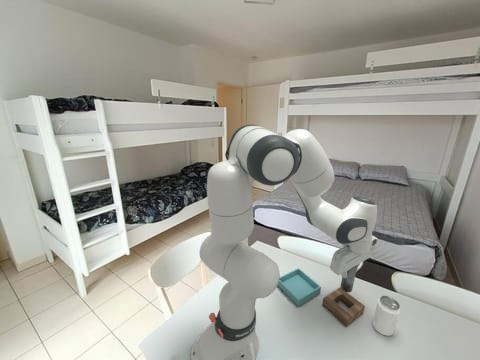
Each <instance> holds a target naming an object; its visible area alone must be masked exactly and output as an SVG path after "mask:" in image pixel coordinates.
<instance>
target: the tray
mask: <svg viewBox="0 0 480 360" xmlns="http://www.w3.org/2000/svg"><path fill="white" fill-rule="evenodd" d="M276 288H278V289H279V290H280V291H281V293H283V294H284V295H285V297H287V298H288V299H289V300H290V302H291V303H292V304H293V305H294V306H295V307H296V308H297V309H298V308H300V307H302V306H304V305H305V304H307V303H309V302H310V301H311V300H313V299H315V298H316V297H318V296H320V295H321V291H322V286H321V285H319V283H317V281H315V280H314V279H313V278H311V277H310V276H309V275H308V274H306V273H305V272H304V271H303V270H302V269H300V267H298V268H295V269H293V270H291V271H290V272H288V273H286V274H284V275H282V276H279V283H278V285H277V287H276Z"/></svg>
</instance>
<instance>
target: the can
mask: <svg viewBox="0 0 480 360" xmlns="http://www.w3.org/2000/svg"><path fill="white" fill-rule="evenodd" d="M400 313H401V309H400V303H399V302H398V301H397V300H396V299H395V298H394V297H391V296H390V295H389V296H388V295H382V296H381V297H380V298H379V299H378V300H377V302H376V306H375V310H374V314H373V319H372V321H371V323H372V326H373V328H374V330H375V331H376V332H378V333H379V334H381V335H383V336H386V337H387V336H388V337H389V336H392V335H393V334H394V331H395V329H396V326H397V323H398V319H399V317H400Z"/></svg>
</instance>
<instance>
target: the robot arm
mask: <svg viewBox="0 0 480 360" xmlns="http://www.w3.org/2000/svg"><path fill="white" fill-rule="evenodd" d="M224 155H225V159H226V160H223V161H220V162H217V163H216V164H215V163H214V164H213V166H211V167H210V169H209V170H208V172H207V178H206V179H207V181H206V184H207V185H206V198H207V208H208V212H209V219H210V227H211V228H210V229H211V231H210V232H211V234H209V235H208V236H207V237H205V239H204V240H203V241H202V243H201V245H200V247H199V259H200V260H201V262H202V263H203V264H204V265H205V266H206V268H208V269H209V270H210V271H211V272H213V273H214V274H216V275H218V276H219V277H221V278H223V280H226V281H227V282H226V283H225V284H224V285H223V287H222V288H221V290H220V292H219V295H218V296H219V297H218V298H219V309H218V312H217V314H215V313H214V312H211V313H209V315H208V318H209V320H210V322H211V323H210V324H209V325H208V326H207V327H206V329H205V330H203V331H202V333H200V335H199V337H198V340H197V341H195V343H193V344H192V346H191V349H190V360H256V358H257V355H258V353H259V348H260V344H259V343H260V342H259V339H258V336H257V332H256V324H257V312H256V301H257V299H265V298H268V297H269V296H271V295H272V294H273V293H274V292H275V290H276V289H277V288H278V287H277V285H278V283H279V277H281V276H280V275H281V274H280V269H279V266H278V263H277V262H276V261H275V260H273V259H272V258H271V257H269V256H268V255H266V254H265V253H264V252H262V251H259V250H257V249H255V248H253V247H252V246H249V245H247V244H246V243H244V241H245V240H246V239H249V237H250V236H251V234H252V233H253V230H254V227H255V224H254V209H253V208H254V206H253V196H252V191H253V190H252V189H253V187H254V182H255V181H256V182H258V183H260V184H262V185H265V186H269V187H271V186H272V187H273V186H279V185H281V184H282V183H284V182H287V180H289V181H290V182H291V183H292V185H293V186H294V187H293V188H294V189H295V191H296V194H297V195H298V198H299V199H300V200H301V203H302V205H303V207H304V210H305V217H306V221H307V222H308V223H309V225H311V226H313V227H314V228H316V229H318V230H319V231H321V232H322V233H324V234H326V235H327V236H328V237H330V238H331V239H332V240H334V241H336V242H337V243H339V244H341V245H342V247H340V248H339V249H336V250H335V251H334V252H333V254H332V257H331V261H330V265H329V268H330V271H332V272H333V273H334V274H336V275H337V276H341V278H342V277H344V278H347V277H348V275H349V273H348V272H347V271H348V270H349V269H351V268H353V267H354V266H356V267H357V270H356V273H357V272H358V270H359V269H358V268H359V267H360V265H361V263H363V262H364V261H366V260H368V259H369V258H371V257H372V256H373V254H374V252H375V249H376V248H375V247H376V244H377V243H378V240H379V238H377V237H376V236H375V235H373V230H374V229H375V227H376V224H377V217H378V205H377V203H375V202H374V201H373V200H371V199H370V198H369V199H368V198H366V197H361V196H352V197H351V198H350V201H349V204H348V205H347V206H346V207H345V208H343V209H341V208H339V207H337V206H335V205H334V204H332V203H330V202H328V201H327V200H325V199H324V198H322V197H321V196H322V195H324V194H325V193H326V192H328V191H329V190H330V189H331V187H332V186H333V184H334V182H335V170H334V168H333V165H332V163H331V161H330V159H329V157H328V155H327V153H326V152H325V150H324V148H323V147H322V145H321V143H319V141H318V139H317V138H316V137H315V136H314V135H313V134H312V133H311V132H310V131H309V130H308V129H303V128H295V129H292V130H290V131H288V132H286V133H285V134H284V135H280V134H278V133H276V132H274V131H272V130H271V129H269V128H267V127H263V126H259V125H257V124H244V125H242V126H239V127H238V128H237V129H236V130H235V131H234V132H233V134H232V135H231V138H230V140H229V144H228V146H227V149H226V151H225V154H224Z"/></svg>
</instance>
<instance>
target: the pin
mask: <svg viewBox="0 0 480 360" xmlns="http://www.w3.org/2000/svg"><path fill="white" fill-rule="evenodd" d="M356 270H357V271H358V269H357V267H356V266H354V267H353V268H351V269H349V270H348V271H347V272H348V273H349V275H348V277H347V278H344V277H342V276H341V282H340V287H341V289H342V290H343V291H345V292H347V293H351V292H352V291H353V288H354V284H355V278H356V273H357V272H356ZM340 287H339V288H340Z"/></svg>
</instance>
